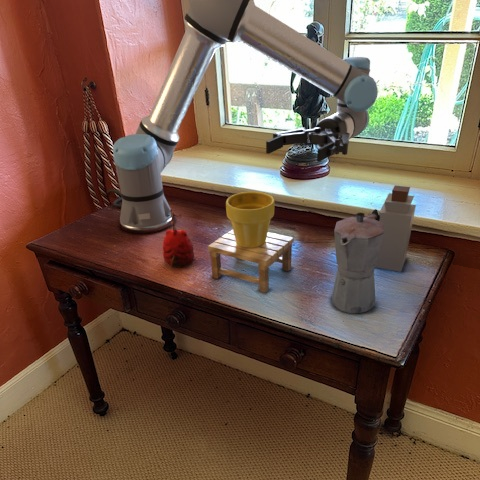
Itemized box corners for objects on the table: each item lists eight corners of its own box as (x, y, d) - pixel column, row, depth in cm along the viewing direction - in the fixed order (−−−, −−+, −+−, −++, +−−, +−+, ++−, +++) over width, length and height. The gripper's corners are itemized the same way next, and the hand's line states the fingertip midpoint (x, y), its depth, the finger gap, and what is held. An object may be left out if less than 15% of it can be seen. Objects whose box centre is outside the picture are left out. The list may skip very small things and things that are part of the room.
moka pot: (315, 312, 93) (322, 220, 82) (346, 279, 103) (355, 192, 92) (360, 326, 89) (373, 231, 77) (387, 290, 99) (402, 201, 87)
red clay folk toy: (196, 256, 115) (190, 199, 107) (192, 270, 110) (185, 210, 101) (167, 256, 116) (158, 199, 107) (161, 270, 110) (151, 211, 102)
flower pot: (270, 253, 98) (270, 210, 92) (223, 250, 100) (220, 208, 94) (277, 233, 106) (277, 191, 100) (233, 230, 108) (231, 190, 102)
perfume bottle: (405, 258, 110) (419, 185, 99) (401, 271, 105) (415, 195, 95) (377, 254, 112) (388, 181, 102) (371, 266, 107) (382, 192, 97)
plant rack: (210, 277, 107) (207, 245, 102) (239, 254, 115) (238, 225, 110) (266, 293, 100) (266, 261, 95) (292, 268, 108) (293, 237, 104)
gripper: (377, 152, 115) (340, 176, 101) (291, 140, 128) (248, 160, 114) (381, 120, 111) (343, 141, 97) (292, 111, 123) (247, 128, 109)
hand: (292, 151), depth 105 cm, fingers open, 13 cm apart
